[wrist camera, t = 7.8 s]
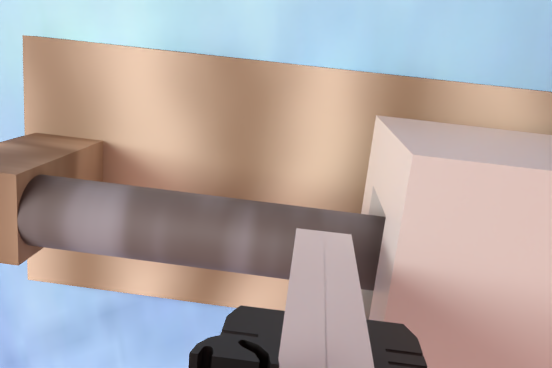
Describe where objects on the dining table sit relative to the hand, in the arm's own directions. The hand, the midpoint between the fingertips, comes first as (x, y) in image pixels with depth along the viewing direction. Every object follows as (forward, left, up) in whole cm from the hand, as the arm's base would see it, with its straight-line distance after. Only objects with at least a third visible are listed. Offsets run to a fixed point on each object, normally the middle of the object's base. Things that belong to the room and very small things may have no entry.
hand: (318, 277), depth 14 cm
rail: (0, +2, -9) cm, 9 cm away
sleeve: (0, +5, -7) cm, 8 cm away
